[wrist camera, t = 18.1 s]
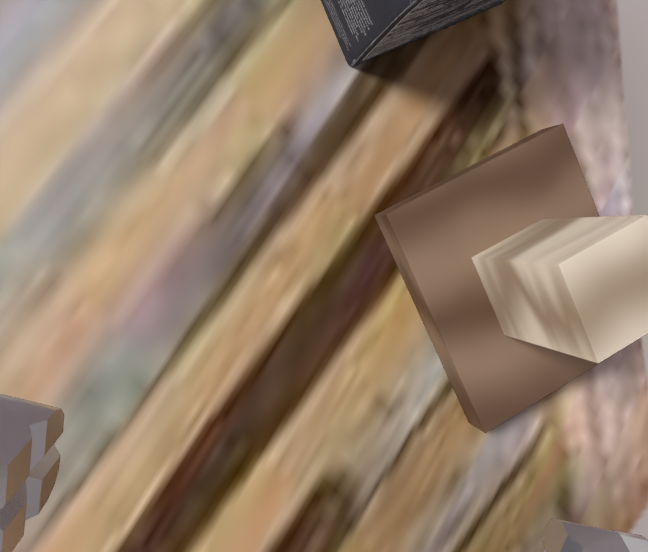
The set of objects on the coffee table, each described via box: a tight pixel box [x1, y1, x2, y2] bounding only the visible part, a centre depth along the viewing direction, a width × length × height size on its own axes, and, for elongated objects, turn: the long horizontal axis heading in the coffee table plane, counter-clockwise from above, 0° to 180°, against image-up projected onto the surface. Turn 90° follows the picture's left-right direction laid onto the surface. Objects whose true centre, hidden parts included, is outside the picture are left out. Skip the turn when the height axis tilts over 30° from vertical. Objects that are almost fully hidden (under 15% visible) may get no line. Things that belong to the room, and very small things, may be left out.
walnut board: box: [374, 124, 645, 433], centre depth 37 cm, size 14×12×2 cm
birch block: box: [471, 215, 648, 363], centre depth 32 cm, size 5×5×8 cm
